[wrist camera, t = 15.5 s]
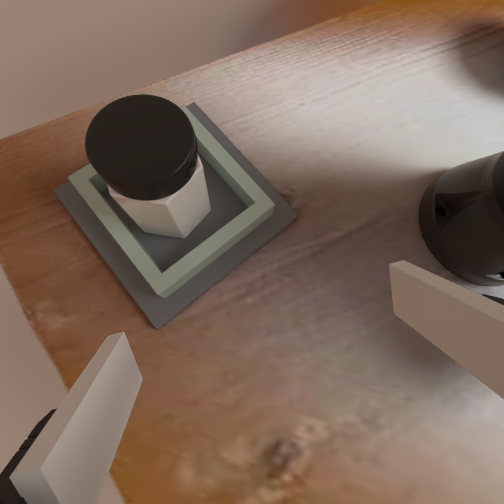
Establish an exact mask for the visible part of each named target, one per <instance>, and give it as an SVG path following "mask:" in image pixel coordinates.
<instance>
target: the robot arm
mask: <svg viewBox="0 0 504 504" xmlns="http://www.w3.org/2000/svg"><path fill="white" fill-rule="evenodd" d="M419 217H420V226H421V230H422V233H423V236H424V239H425V241H426V243H427V245H428V247H429V248H430V250H431V252H432V253H433V254H434V256H435V257H436V258H437V259H438V260H439V261H440V262H441V263H442V264H443V265H444V266H445V267H446V268H447V269H448V270H450V271H451V272H452V273H454V274H455V275H457V276H459V277H461V278H462V279H465V280H467V281H469V282H472V283H475V284H479V285H485V286H501V285H504V151H503V152H500V153H497V154H493V155H490V156H487V157H484V158H481V159H477V160H474V161H471V162H468V163H465V164H462V165H459V166H457V167H454V168H453V169H451V170H449V171H448V172H446V173H445V174H443V175H442V176H441V177H439V178H438V179H437V180H435V181H434V182H433V183H432V184H431V185H430V186H429V187H428V189H427V190H426V192H425V194H424V196H423V198H422V201H421V205H420V213H419ZM389 270H390V281H391V291H392V301H393V311H394V314H395V315H397V316H398V317H399V318H400V319H402V320H403V321H404V322H406V323H407V324H408V325H409V326H411V327H412V328H413V329H414V330H416V331H417V332H418V333H420V334H421V335H422V336H423V337H425V338H426V339H427V340H429V341H430V342H431V343H432V344H434V345H435V346H436V347H438V348H439V349H440V350H441V351H443V352H444V353H445V354H447V355H448V356H449V357H450V358H452V359H453V360H454V361H455V362H457V363H458V364H459V365H461V366H462V367H463V368H464V369H466V370H467V371H468V372H470V373H471V374H472V375H473V376H475V377H476V378H477V379H479V380H480V381H481V382H482V383H484V384H485V385H486V386H488V387H489V388H490V389H491V390H493V391H494V392H495V393H497V394H498V395H499V396H500V397H502V398H503V399H504V299H501V298H497V297H493V296H489V295H485V294H483V295H480V294H478V293H475V292H473V291H471V290H469V289H466V288H464V287H462V286H460V285H458V284H455V283H453V282H451V281H449V280H447V279H444V278H442V277H440V276H438V275H435V274H433V273H431V272H429V271H427V270H424V269H422V268H420V267H418V266H416V265H413V264H411V263H409V262H407V261H404V260H402V261H398V262H394V263H390V264H389ZM142 381H143V379H142V376H141V374H140V371H139V368H138V366H137V363H136V361H135V358H134V356H133V353H132V351H131V348H130V345H129V343H128V340H127V338H126V335H125V333H124V332H120V333H116V334H112V335H108V336H107V338H106V339H105V340H104V342H103V343H102V345H101V346H100V348H99V349H98V351H97V352H96V353H95V355H94V356H93V358H92V359H91V361H90V362H89V363H88V365H87V366H86V368H85V369H84V371H83V372H82V374H81V375H80V376H79V378H78V379H77V381H76V382H75V384H74V385H73V387H72V388H71V389H70V391H69V392H68V394H67V395H66V397H65V398H64V400H63V401H62V402H61V404H60V405H59V407H58V408H57V409H54V410H51V411H50V412H49V413H48V414H47V415H46V416H45V417H44V418H43V419H42V420H41V421H40V422H38V424H37V425H36V426H35V428H34V429H33V430H32V432H31V433H30V435H29V436H28V439H27V440H25V441H24V443H23V444H22V445H21V447H20V448H19V451H17V452H16V454H15V455H14V456H13V458H12V459H11V460H10V462H9V463H8V464H7V466H6V467H5V469H4V470H3V472H2V473H1V474H0V504H97V502H98V499H99V496H100V493H101V491H102V488H103V485H104V482H105V480H106V477H107V475H108V472H109V469H110V467H111V464H112V461H113V459H114V456H115V453H116V451H117V448H118V445H119V443H120V440H121V437H122V434H123V432H124V429H125V426H126V424H127V421H128V418H129V416H130V413H131V410H132V408H133V405H134V402H135V400H136V397H137V394H138V391H139V389H140V386H141V383H142Z"/></svg>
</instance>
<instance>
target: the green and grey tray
mask: <svg viewBox="0 0 504 504" xmlns="http://www.w3.org/2000/svg"><path fill="white" fill-rule="evenodd" d="M179 108H181V109H182V110H183V111H184V112H185V114H186V115H187V116H188V118H189V120H190V122H191V124H192V126H193V129H194V132H195V135H196V139H197V145H198V155H199V158H200V160H201V163H202V165H203V170H204V175H205V180H206V185H207V191H208V196H209V201H210V206H211V211H210V212H209V213H208V214H207V215H206V216H205V218H204V219H203V220H202V221H201V222H200V223H199V224H198V225H197V226H196V227H195V228H194V229H193V230H192V232H191V233H190V234H189V235H188V236H187V237H186V238H185V239H182V238H176V237H170V236H163V235H157V234H151V233H145V232H144V231H143V230H142V229H141V228H140V227H139V226H138V225H137V224H136V222H135V221H134V220H133V219H132V218H131V217H130V216H129V215H128V214H127V213H126V212H125V210H124V209H123V208H122V207H121V206H120V205H119V204H118V203H117V202H116V201H115V200H114V198H113V197H112V196H111V195H110V193H109V189H108V186H107V183H106V182H105V181H104V180H103V178H102V177H101V176H100V175H99V174H98V173H97V171H96V170H95V169H94V168H93V166H92V165H91V163H89V164H88V165H86V166H84V167H83V168H81V169H80V170H78V171H76V172H75V173H73V174H72V175H70V176H68V177H67V178H68V179H69V181H67V182H66V183H64V184H62V185H61V186H59V187H58V188H56V189H54V190H53V192H54V193H55V194H56V196H57V197H58V198H59V200H60V201H61V202H62V204H63V205H64V206H65V208H66V209H67V210H68V212H69V213H70V214H71V216H72V217H73V218H74V220H75V221H76V222H77V224H78V225H79V226H80V228H81V229H82V230H83V232H84V233H85V234H86V236H87V237H88V238H89V240H90V241H91V242H92V244H93V245H94V246H95V248H96V249H97V250H98V252H99V253H100V254H101V256H102V257H103V259H104V260H105V261H106V263H107V264H108V265H109V267H110V268H111V269H112V271H113V272H114V273H115V275H116V276H117V277H118V279H119V280H120V281H121V283H122V284H123V285H124V287H125V288H126V289H127V291H128V292H129V293H130V295H131V296H132V297H133V299H134V300H135V301H136V303H137V304H138V305H139V307H140V308H141V309H142V311H143V312H144V313H145V315H146V316H147V317H148V319H149V320H150V321H151V323H152V324H153V325H154V327H155V328H156V329H157V330H159V329H161V328H162V327H163V326H164V325H166V324H167V323H168V322H169V321H171V320H172V319H173V318H174V317H176V316H177V315H178V314H179V313H180V312H182V311H183V310H184V309H185V308H187V307H188V306H189V305H190V304H192V303H193V302H194V301H195V300H197V299H198V298H199V297H200V296H202V295H203V294H204V293H205V292H207V291H208V290H209V289H210V288H211V287H213V286H214V285H215V284H216V283H218V282H219V281H220V280H221V279H223V278H224V277H225V276H226V275H228V274H229V273H230V272H231V271H233V270H234V269H235V268H236V267H238V266H239V265H240V264H241V263H242V262H244V261H245V260H246V259H247V258H249V257H250V256H251V255H252V254H254V253H255V252H256V251H257V250H259V249H260V248H261V247H262V246H264V245H265V244H266V243H267V242H269V241H270V240H271V239H272V238H273V237H275V236H276V235H277V234H278V233H280V232H281V231H282V230H283V229H285V228H286V227H287V226H288V225H290V224H291V223H292V222H293V221H295V220H296V219H297V218H298V216H299V215H298V214H297V213H296V212H295V210H294V209H293V208H292V207H291V206H290V205H289V204H288V203H287V202H286V201H285V200H284V199H283V197H282V196H281V195H280V194H279V193H278V192H277V191H276V190H275V189H274V188H273V187H272V186H271V185H270V183H269V182H268V181H267V180H266V179H265V178H264V177H263V176H262V175H261V174H260V173H259V172H258V170H257V169H256V168H255V167H254V166H253V165H252V164H251V163H250V162H249V161H248V160H247V159H246V158H245V156H244V155H243V154H242V153H241V152H240V151H239V150H238V149H237V148H236V147H235V146H234V145H233V144H232V142H231V141H230V140H229V139H228V138H227V137H226V136H225V135H224V134H223V133H222V132H221V131H220V129H219V128H218V127H217V126H216V125H215V124H214V123H213V122H212V121H211V120H210V119H209V118H208V117H207V115H206V114H205V113H204V112H203V111H202V110H201V109H200V108H199V107H198V106H197V105H196V104H195V102H194V103H192V104H190V105H189V106H187V107H185V105H183V106H181V107H179Z"/></svg>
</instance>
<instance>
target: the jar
mask: <svg viewBox="0 0 504 504" xmlns="http://www.w3.org/2000/svg"><path fill="white" fill-rule="evenodd" d="M85 149H86V154H87V157H88V159H89V161H90V163H91V165H92V166H93V168H94V169H95V170H96V171H97V173H98V174H99V175H100V176H101V177H102V178H103V180H104V181H105V182H106V183H107V186H108V189H109V193H110V195H111V196H112V197H113V198H114V200H115V201H116V202H117V203H118V204H119V205H120V206H121V207H122V208H123V209H124V210H125V212H126V213H127V214H128V215H129V216H130V217H131V218H132V219H133V220H134V221H135V222H136V224H137V225H138V226H139V227H140V228H141V229H142V230H143V231H144V232H145V233H151V234H157V235H163V236H170V237H176V238H182V239H185V238H186V237H187V236H188V235H189V234H190V233H191V232H192V230H193V229H194V228H195V227H196V226H197V225H198V224H199V223H200V222H201V221H202V220H203V219H204V218H205V216H206V215H207V214H208V213H209V212H210V211H211V206H210V201H209V196H208V191H207V185H206V180H205V175H204V170H203V165H202V163H201V160H200V158H199V155H198V145H197V139H196V135H195V132H194V129H193V126H192V124H191V122H190V120H189V118H188V116H187V115H186V114H185V112H184V111H183V110H182V109H181V108H179V107H178V106H177V105H176V104H174V103H172V102H171V101H169V100H166V99H164V98H161V97H158V96H153V95H131V96H127V97H123V98H120V99H118V100H115V101H113V102H111V103H110V104H108V105H107V106H105V107H104V108H103V109H101V110H100V111H99V112H98V113H97V114H96V116H95V117H94V118H93V120H92V121H91V123H90V125H89V127H88V130H87V133H86V138H85Z"/></svg>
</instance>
